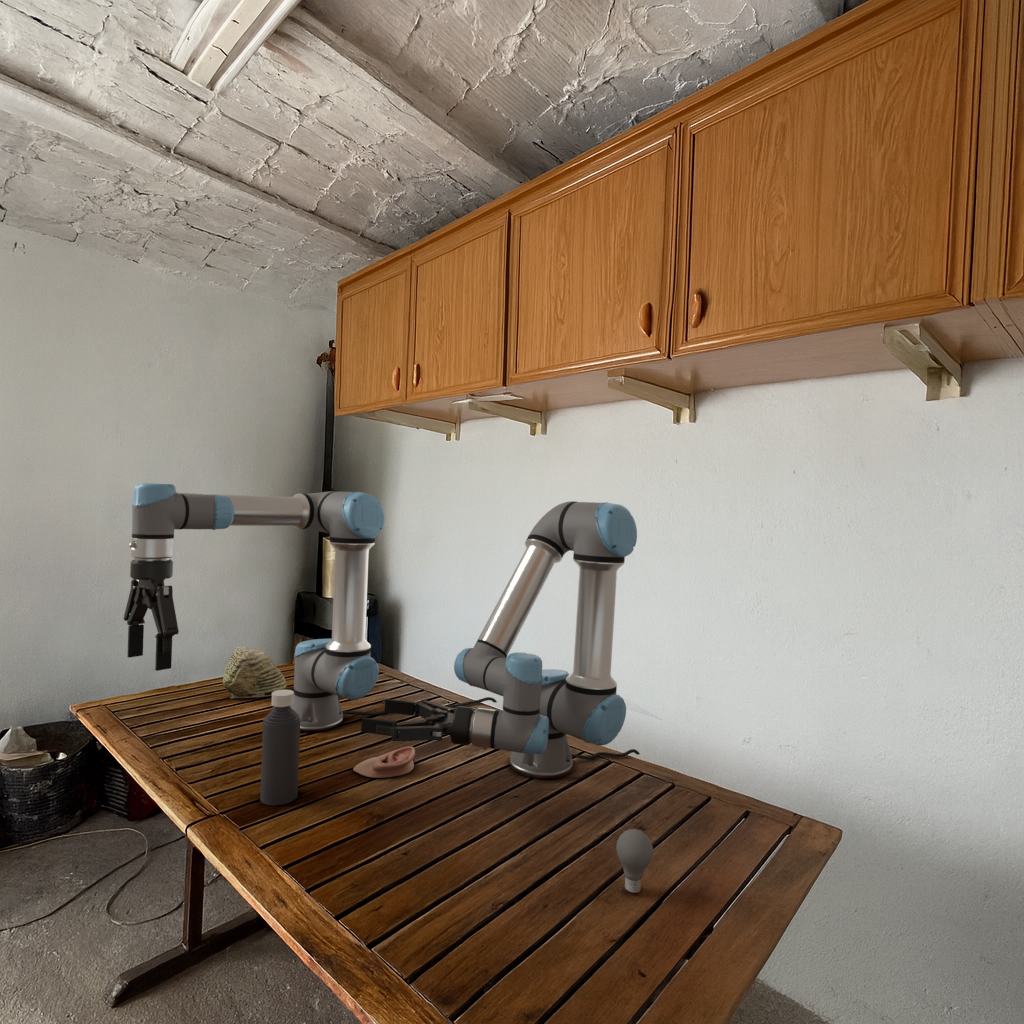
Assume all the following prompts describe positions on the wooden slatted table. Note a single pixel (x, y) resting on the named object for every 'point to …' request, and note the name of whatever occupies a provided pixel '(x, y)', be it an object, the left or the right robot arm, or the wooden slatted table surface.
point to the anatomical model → (388, 764)
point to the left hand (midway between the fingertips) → (148, 662)
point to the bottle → (280, 756)
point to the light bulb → (634, 857)
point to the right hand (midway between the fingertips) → (374, 714)
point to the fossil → (252, 674)
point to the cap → (282, 698)
